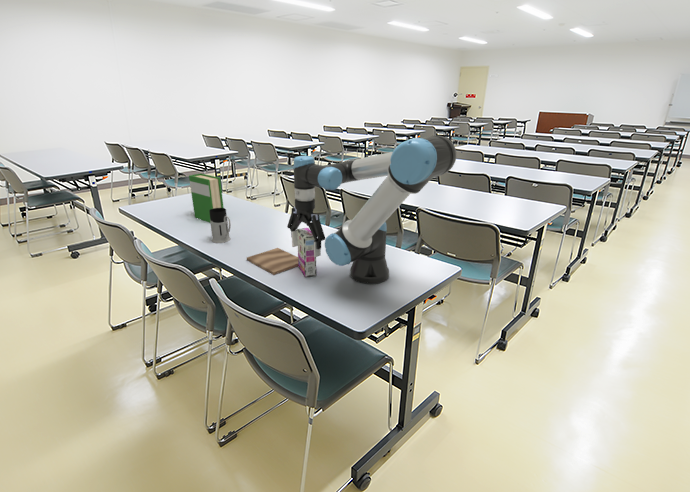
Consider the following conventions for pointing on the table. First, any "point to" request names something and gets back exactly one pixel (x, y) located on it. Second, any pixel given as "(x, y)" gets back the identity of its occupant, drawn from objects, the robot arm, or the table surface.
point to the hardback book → (205, 195)
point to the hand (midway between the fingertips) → (306, 251)
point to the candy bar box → (306, 252)
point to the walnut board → (274, 261)
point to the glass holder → (219, 225)
